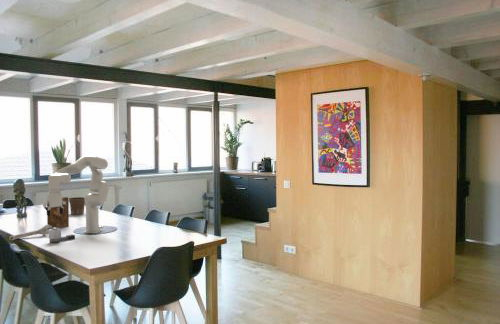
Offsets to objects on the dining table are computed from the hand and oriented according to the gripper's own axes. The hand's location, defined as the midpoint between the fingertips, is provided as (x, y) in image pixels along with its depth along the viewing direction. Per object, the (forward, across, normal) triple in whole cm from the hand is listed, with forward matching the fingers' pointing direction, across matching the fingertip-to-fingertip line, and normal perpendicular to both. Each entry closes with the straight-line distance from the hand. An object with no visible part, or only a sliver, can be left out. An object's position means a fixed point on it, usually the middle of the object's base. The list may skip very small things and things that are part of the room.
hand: (54, 214), depth 305 cm
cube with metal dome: (+17, 0, 0) cm, 17 cm away
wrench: (+21, +2, -29) cm, 36 cm away
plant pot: (+21, -82, -93) cm, 125 cm away
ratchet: (+20, -5, 0) cm, 21 cm away
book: (+21, -32, -48) cm, 61 cm away
